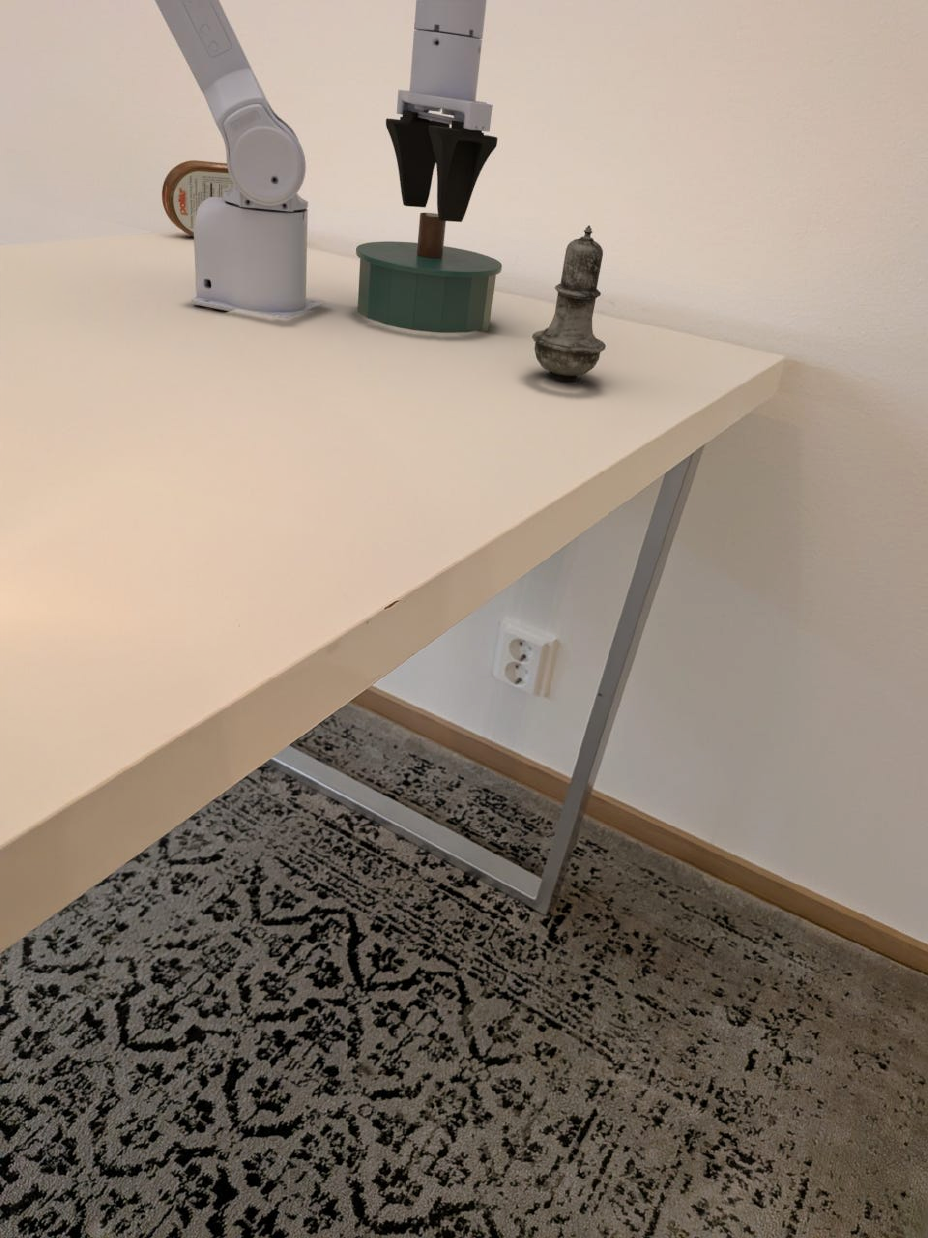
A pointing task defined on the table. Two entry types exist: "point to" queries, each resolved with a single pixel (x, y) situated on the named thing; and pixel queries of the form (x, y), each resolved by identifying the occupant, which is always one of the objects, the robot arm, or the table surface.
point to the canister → (425, 300)
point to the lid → (429, 254)
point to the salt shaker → (573, 315)
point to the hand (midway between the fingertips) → (431, 213)
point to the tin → (193, 190)
